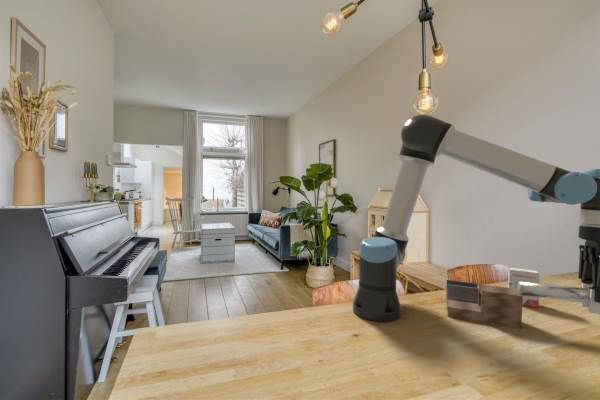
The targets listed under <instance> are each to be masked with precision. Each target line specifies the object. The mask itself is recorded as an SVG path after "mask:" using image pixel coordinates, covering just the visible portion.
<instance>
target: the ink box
mask: <svg viewBox="0 0 600 400" xmlns="http://www.w3.org/2000/svg"><path fill="white" fill-rule="evenodd" d="M507 273H508V275H507V276H508V277H507V279H508V280H507V288H514V289H517V290H518V282H519V281H521V282H531V283H540V280H541V278H540V276H541V274H540V272H539V271H538V270H532V269H524V268H517V267H516V268H515V267H508V272H507ZM522 296H523V295H522ZM539 303H540V297H531V296H523V300H522V306H527V307H531V308H532V307H533V308H539V305H540V304H539Z"/></svg>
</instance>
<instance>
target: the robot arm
mask: <svg viewBox="0 0 600 400" xmlns="http://www.w3.org/2000/svg"><path fill="white" fill-rule="evenodd" d="M400 137H401V138H400V139H401V141H402V144H401V149H400V151H399V152H400V153H399V155H398V157H399V159H400V160H401V163H400V167H399V170H398V172H397V176H396V180H395V183H394V186H393V190H392V192H391V195H390V199H389V202H388V205H387V208H386V213H385V216H384V218H383V222H382V225H381V226H379V227H376V229H375V231H374V232H375V233H374V236H372V237H367V238H364V239H362V240H361V242H360V243H359V248H358V249H359V250H358V255H359V257H358V258H359V259H358V260H359V262H358V263H359V264H358V287H357V290H356V293H355V296H354V299H353V302H352V311H353V313H354V314H355V315H356V316H358V317H361V318H362V319H366V320H369V321H374V322H394V321H397V320H398V319H400V318H401V317H402V306H401V303H400V300H399V299H400V298H399V296H398V295H399V294H398V292H397V269H398V267H399V266H400V265H401V264H402V263H403V261H404V260H405V257H406V249H407V246H408V243H409V239H410V238H409V237H408V235H407V231H408V228H409V225H410V222H411V219H412V215H413V213H414V210H415V207H416V203H417V202H418V201H417V200H418V197H419V195H420V194H419V193H420V191H421V188H422V185H423V181H424V179H425V175H426V173H427V170H428V168H429V167H432V166H433V165H434V164H435V160H436V158H437V157H439V156H445V157H447V158H450V159H453V160H454V161H458V162H460V163H463V164H465V165H468V166H470V167H473V168H475V169H478V170H480V171H483V172H484V173H488V174H489V175H492V176H496V177H498V178H499V179H503V180H505V181H508V182H511V183H512V184H515V185H517V186H520V187H523V188H526V189H527V197H528V199H529V200H530V201H531V202H540V203H556V204H558V203H559V204H566V205H573V206H575V205H578V204H580V209H579V222H578V223H580V225H579V226H578V238H579V239H581V240H584V241H585V242H584V244H580V245H579V246H578V249H579V263H578V276H577V278H578V279H580V282H581V288H589V289H590V299H589V303H582V302H580V306H581V307H583V308H588V313H589V314H596V315H600V168H593V169H592V168H590V169H585V170H584V171H582V172H580V171H577V172H576V171H569V170H567V169H564V168H561V167H558V166H556V165H554V164H550V163H548V162H544V161H542V160H539V159H537V158H534V157H531V156H528V155H526V154H523V153H520V152H518V151H515V150H512V149H509V148H506V147H504V146H501V145H499V144H495V143H493V142H490V141H487V140H484V139H481V138H479V137H476V136H473V135H471V134H469V133H465V132H462V131H459V130H457V129H456V127H455V125H454V124H452V123H449V122H446V121H444V120H441V119H439V118H437V117H434V116H432V115H429V114H422V113H421V114H417V115H413V116H412V117H410V118H409V119H408V120H407V121H405V123H404V125H403V126H402V129H401V132H400Z"/></svg>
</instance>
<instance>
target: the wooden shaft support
mask: <svg viewBox="0 0 600 400" xmlns="http://www.w3.org/2000/svg"><path fill="white" fill-rule="evenodd" d="M478 288H479V289H478V304H475V303H468V302H461V301H454V300H448V299H447V298H446V312H447V313H446V314H447V317H449V318H450V317H452V318H456V319H457V318H458V319H462V320H469V321H473V320H474V322H480V323H485V322H486V323H485V324H491V323H493V324H492V325H497V324H498V326H503V327H504V326H505V327H510V328H517V329H522V322H523V321H522V319H523V305H522V300H523V296H522V295H521V294H520V293H519V291H518V290H517V289H514V288H508V287H503V286H496V285H489V284H481V283H479V284H478Z"/></svg>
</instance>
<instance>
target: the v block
mask: <svg viewBox="0 0 600 400" xmlns="http://www.w3.org/2000/svg"><path fill="white" fill-rule="evenodd" d="M478 289H479V284H478V282H471V281H469V282H468V281H461V280H453V279H446V290H445V292H446V294H445V296H446V300H447V299H448V300H454V301H461V302H468V303H475V304H478Z"/></svg>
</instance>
